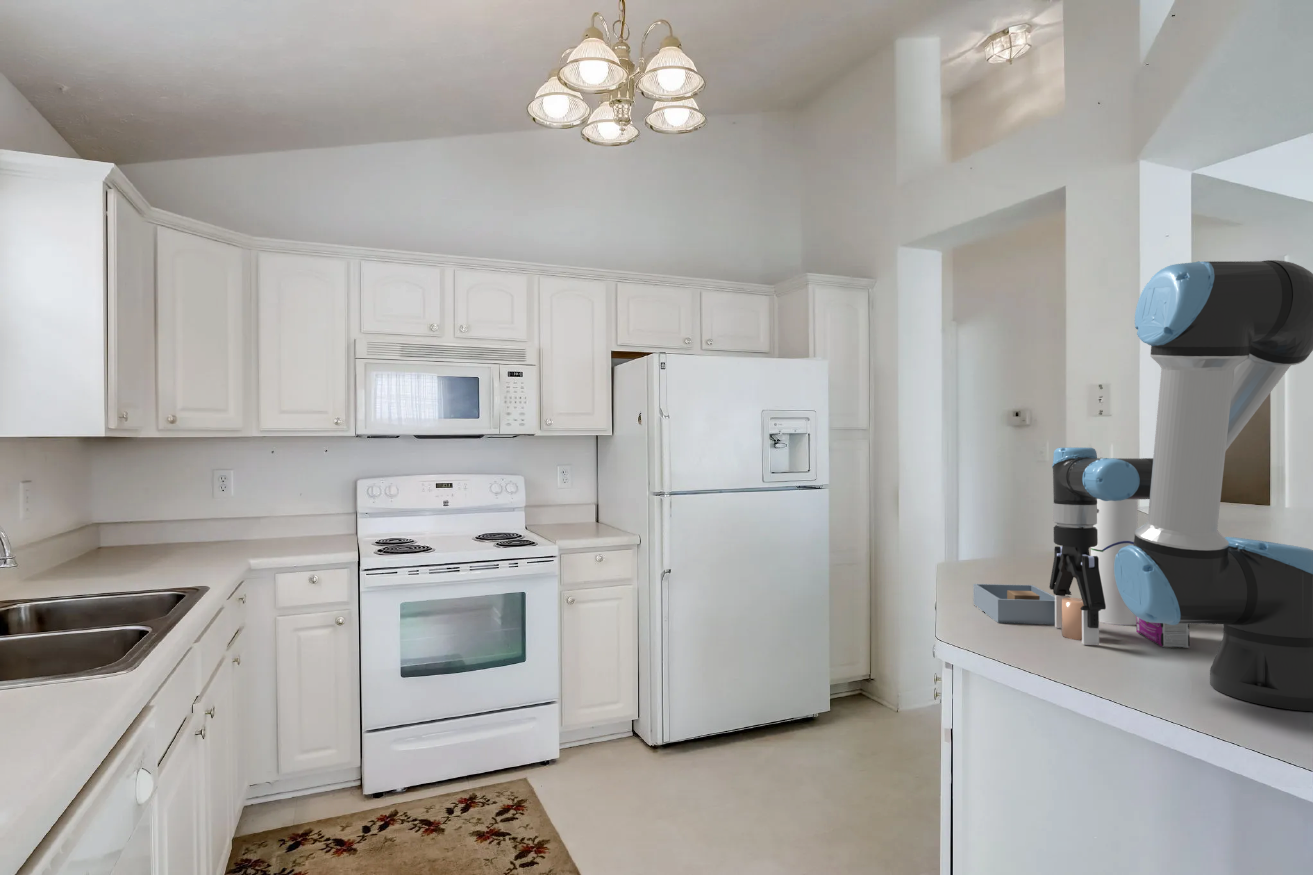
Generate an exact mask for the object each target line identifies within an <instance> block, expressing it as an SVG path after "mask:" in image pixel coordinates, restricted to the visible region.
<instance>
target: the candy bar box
mask: <svg viewBox="0 0 1313 875" xmlns="http://www.w3.org/2000/svg"><path fill="white" fill-rule="evenodd" d="M1135 626H1136V627H1135V628H1136V633H1138V634H1139V635H1141V636H1143V637H1145V638H1146V639H1148V640H1150V641H1151V642H1153V643H1155V644H1157V645H1158V646H1160V647H1162V648H1167V649H1168V648H1169V649H1190V648H1191V647H1190V646H1191V644H1190V643H1191V642H1190V641H1191V640H1190V638H1191V637H1190V632H1191V631H1190V624H1177V625H1169V624H1166V623H1152V622H1147V621H1144V620H1142V619H1140V618H1138V617H1137V616H1136V625H1135Z"/></svg>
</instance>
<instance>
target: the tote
mask: <svg viewBox="0 0 1313 875" xmlns="http://www.w3.org/2000/svg"><path fill="white" fill-rule="evenodd" d="M972 586H973V587H972V588H973V605H974V604H975V605H976V606H978V608H980V609H981V610H982V611H984V612H985V613H986V614H987V615H986V614H985V613H984V612H983V613H984V614H985V615H986V616H988V615H989V616H990V617H989V616H988V617H989V618H991V619H992V620H993V619H994V620H993V621H995V622H996V623H997V622H998V623H997V624H1014V625H1015V624H1019V625H1020V624H1021V625H1022V624H1023V625H1027V624H1028V625H1052V626H1055V595H1054V594H1051V593H1049V592H1047V591H1045V590H1043V589H1041V588H1040V587H1037V586H1036V585H1033V584H1003V583H1002V584H1001V583H998V584H997V583H973V584H972ZM1007 590H1010V591H1032V592H1034V593H1036V594H1037V595H1039V596H1040V600H1023V599H1007ZM976 606H975V607H976ZM978 608H977V609H978ZM980 609H979V610H980ZM981 610H980V611H981ZM982 611H981V612H982Z"/></svg>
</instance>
